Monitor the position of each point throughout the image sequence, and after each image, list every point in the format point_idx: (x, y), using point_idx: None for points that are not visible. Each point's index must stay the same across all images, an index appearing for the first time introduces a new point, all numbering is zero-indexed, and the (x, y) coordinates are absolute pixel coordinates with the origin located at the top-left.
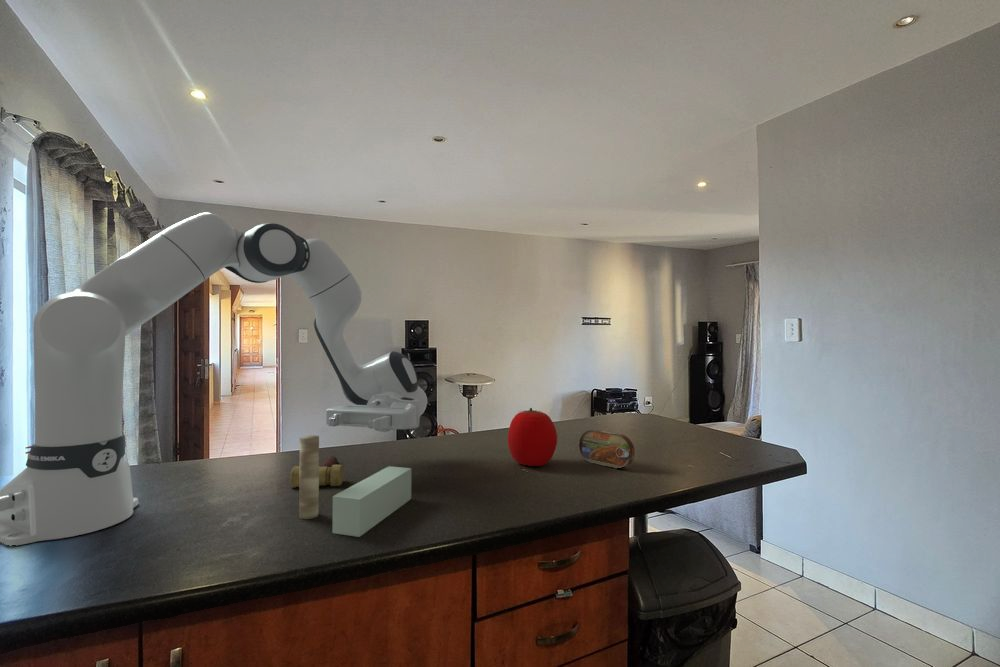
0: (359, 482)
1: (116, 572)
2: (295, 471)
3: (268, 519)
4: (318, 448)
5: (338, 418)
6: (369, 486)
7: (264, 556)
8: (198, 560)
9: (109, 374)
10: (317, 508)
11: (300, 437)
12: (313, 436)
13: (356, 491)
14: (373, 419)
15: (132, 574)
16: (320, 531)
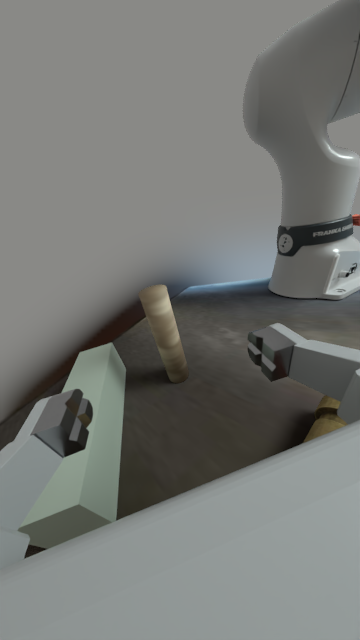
0: (103, 379)
1: (199, 298)
2: (332, 399)
3: (205, 349)
4: (145, 311)
5: (269, 353)
6: (81, 378)
7: (147, 332)
8: (178, 315)
9: (288, 152)
10: (167, 373)
11: (163, 285)
12: (150, 293)
13: (92, 361)
14: (49, 406)
15: (190, 301)
16: (139, 365)
